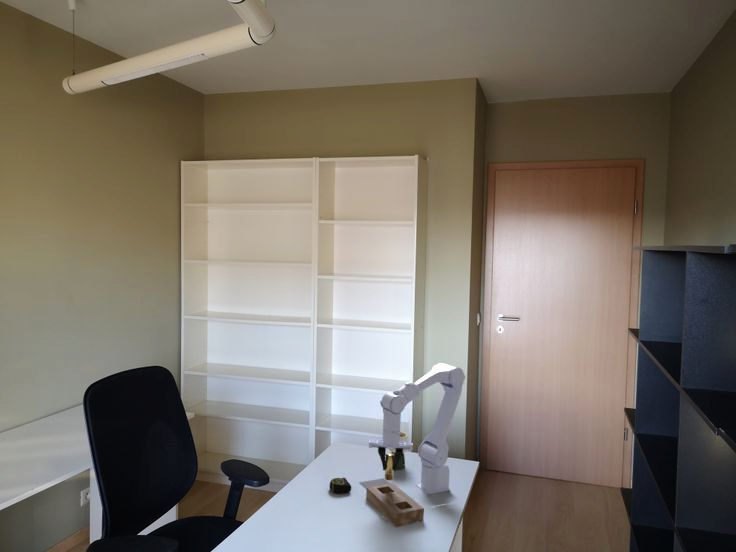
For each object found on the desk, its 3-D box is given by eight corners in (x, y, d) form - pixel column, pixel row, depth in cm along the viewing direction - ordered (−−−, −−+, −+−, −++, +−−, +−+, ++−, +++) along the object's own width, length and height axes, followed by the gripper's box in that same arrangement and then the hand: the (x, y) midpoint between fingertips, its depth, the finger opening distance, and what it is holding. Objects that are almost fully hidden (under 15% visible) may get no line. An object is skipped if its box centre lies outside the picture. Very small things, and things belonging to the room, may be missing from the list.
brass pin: (390, 475, 195) (391, 452, 195) (395, 479, 192) (396, 455, 192) (383, 477, 194) (384, 454, 193) (387, 480, 191) (388, 457, 191)
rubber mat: (383, 479, 210) (383, 478, 210) (397, 490, 201) (397, 489, 201) (358, 483, 206) (358, 482, 206) (371, 495, 197) (371, 494, 197)
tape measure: (351, 494, 197) (352, 484, 196) (332, 496, 195) (332, 485, 194) (346, 486, 203) (346, 476, 203) (327, 488, 201) (327, 477, 201)
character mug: (396, 474, 215) (398, 440, 214) (381, 469, 219) (382, 435, 218) (412, 465, 224) (413, 432, 223) (396, 460, 228) (398, 428, 227)
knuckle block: (392, 494, 198) (392, 482, 198) (423, 520, 180) (423, 508, 180) (366, 499, 194) (366, 487, 193) (395, 526, 176) (395, 513, 175)
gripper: (368, 432, 188) (367, 472, 189) (413, 435, 187) (411, 476, 188) (370, 425, 195) (368, 464, 196) (413, 428, 194) (411, 467, 195)
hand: (389, 469), depth 193 cm, fingers closed on brass pin, 3 cm apart
